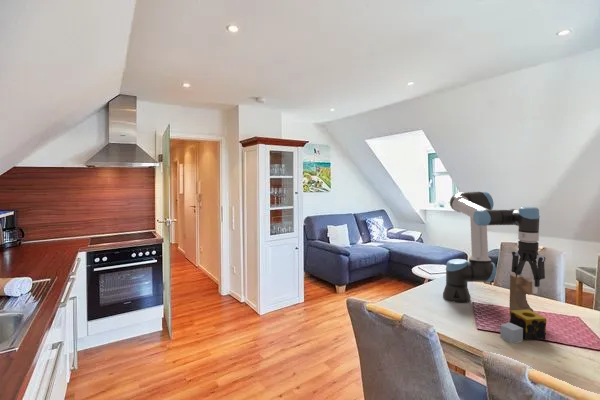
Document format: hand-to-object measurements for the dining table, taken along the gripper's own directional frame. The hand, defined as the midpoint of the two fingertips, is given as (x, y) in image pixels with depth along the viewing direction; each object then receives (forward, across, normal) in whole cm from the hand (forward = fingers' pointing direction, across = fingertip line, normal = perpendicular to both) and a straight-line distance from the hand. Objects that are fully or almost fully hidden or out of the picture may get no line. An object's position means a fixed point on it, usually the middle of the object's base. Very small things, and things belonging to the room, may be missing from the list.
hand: (527, 290), depth 144 cm
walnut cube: (0, 0, 0) cm, 1 cm away
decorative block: (+21, -16, +19) cm, 33 cm away
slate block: (+21, 0, -10) cm, 23 cm away
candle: (+21, 0, 0) cm, 21 cm away
